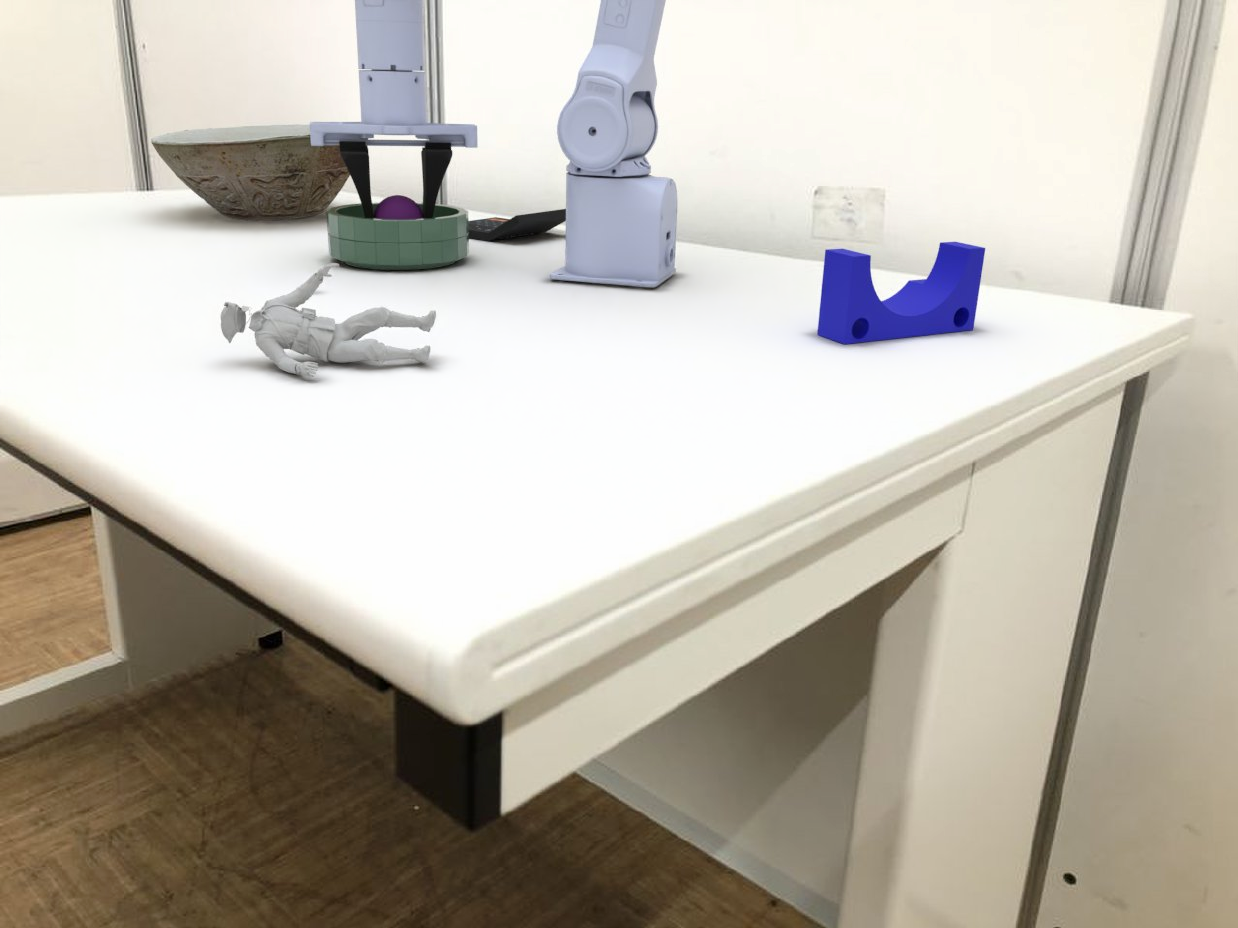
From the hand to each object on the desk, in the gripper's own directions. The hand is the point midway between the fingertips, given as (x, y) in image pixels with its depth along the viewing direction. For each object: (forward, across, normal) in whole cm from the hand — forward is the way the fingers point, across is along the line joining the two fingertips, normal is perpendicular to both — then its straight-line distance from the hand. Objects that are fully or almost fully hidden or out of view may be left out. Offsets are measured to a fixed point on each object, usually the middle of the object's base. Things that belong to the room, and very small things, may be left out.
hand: (398, 228), depth 98 cm
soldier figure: (+3, -6, -36) cm, 36 cm away
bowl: (+3, -13, +31) cm, 34 cm away
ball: (-1, 0, 0) cm, 1 cm away
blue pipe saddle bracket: (+3, +34, -32) cm, 46 cm away
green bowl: (+3, 0, 0) cm, 3 cm away
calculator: (+3, +12, +15) cm, 20 cm away
